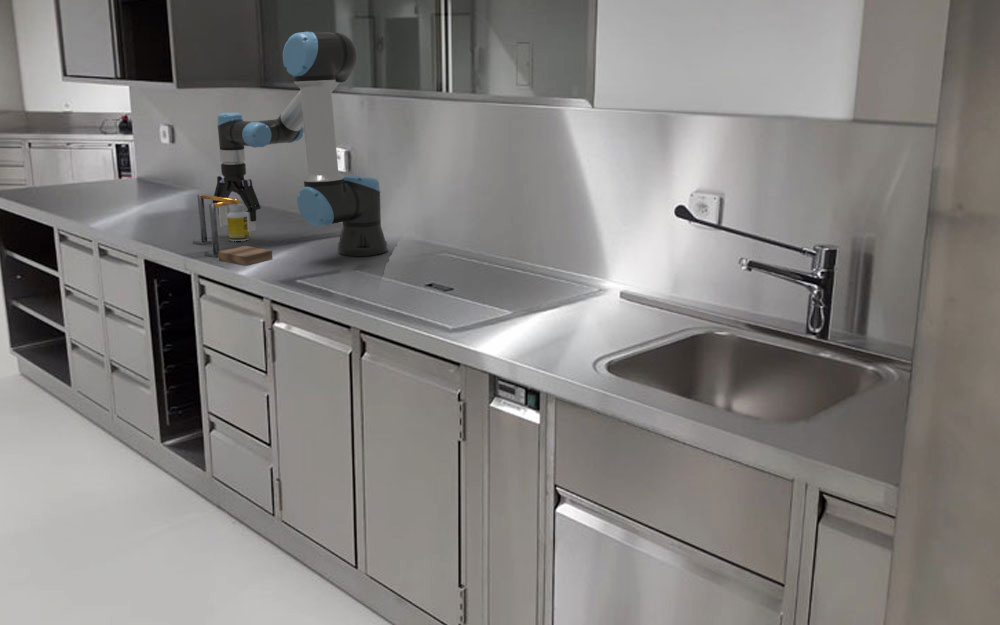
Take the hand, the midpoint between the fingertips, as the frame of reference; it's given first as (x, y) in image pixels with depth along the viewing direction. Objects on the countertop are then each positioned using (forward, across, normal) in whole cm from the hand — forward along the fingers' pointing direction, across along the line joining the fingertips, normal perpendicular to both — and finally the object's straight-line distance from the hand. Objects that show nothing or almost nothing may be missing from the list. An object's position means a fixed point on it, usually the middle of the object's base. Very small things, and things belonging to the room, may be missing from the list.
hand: (237, 228), depth 300 cm
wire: (+4, -3, +13) cm, 14 cm away
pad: (+4, -23, +17) cm, 29 cm away
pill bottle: (+4, 0, 0) cm, 4 cm away
